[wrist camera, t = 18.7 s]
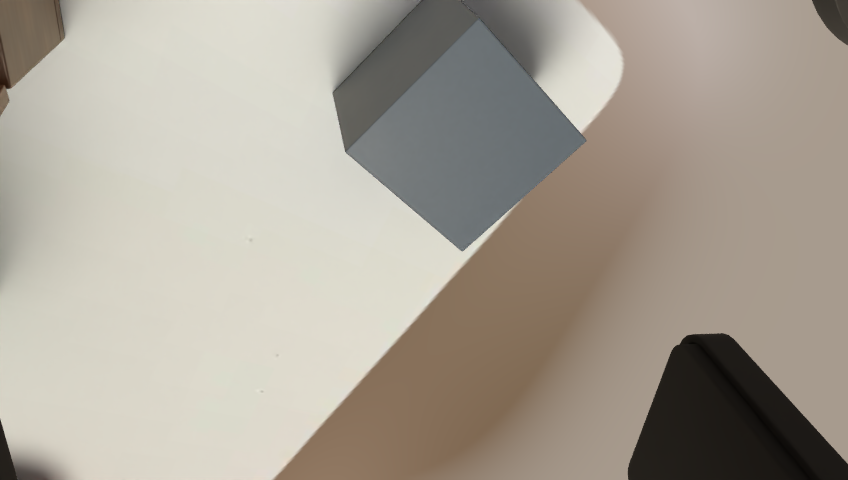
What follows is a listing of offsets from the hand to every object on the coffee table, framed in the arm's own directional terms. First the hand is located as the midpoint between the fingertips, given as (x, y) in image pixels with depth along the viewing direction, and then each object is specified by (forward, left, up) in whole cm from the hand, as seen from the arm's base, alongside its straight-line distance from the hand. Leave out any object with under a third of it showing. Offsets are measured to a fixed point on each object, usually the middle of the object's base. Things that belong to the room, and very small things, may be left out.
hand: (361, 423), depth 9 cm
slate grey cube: (-2, +8, -28) cm, 29 cm away
